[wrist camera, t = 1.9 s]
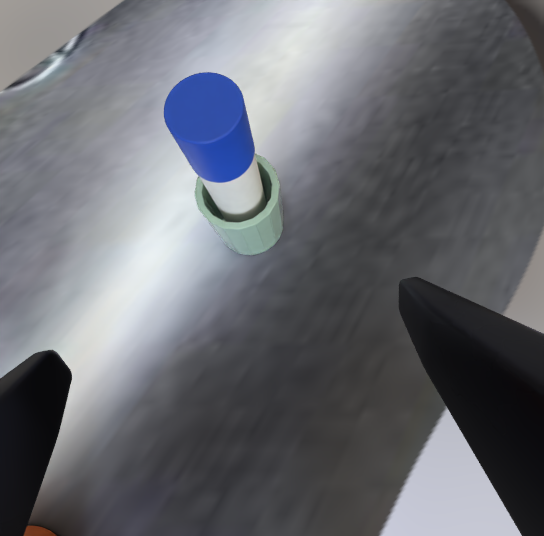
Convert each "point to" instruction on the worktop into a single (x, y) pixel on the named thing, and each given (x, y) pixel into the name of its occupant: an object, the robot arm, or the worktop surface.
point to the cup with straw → (37, 531)
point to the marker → (217, 142)
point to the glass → (255, 231)
